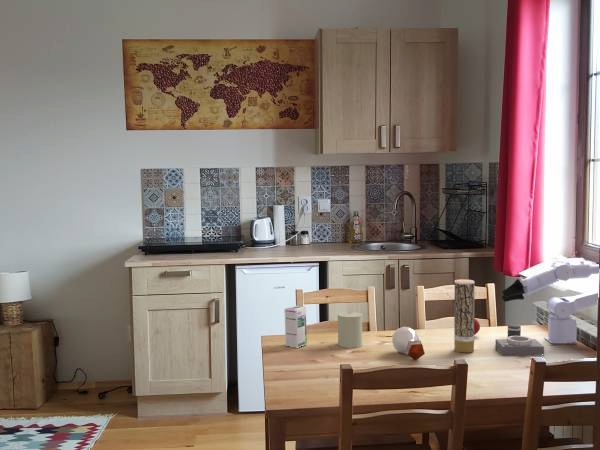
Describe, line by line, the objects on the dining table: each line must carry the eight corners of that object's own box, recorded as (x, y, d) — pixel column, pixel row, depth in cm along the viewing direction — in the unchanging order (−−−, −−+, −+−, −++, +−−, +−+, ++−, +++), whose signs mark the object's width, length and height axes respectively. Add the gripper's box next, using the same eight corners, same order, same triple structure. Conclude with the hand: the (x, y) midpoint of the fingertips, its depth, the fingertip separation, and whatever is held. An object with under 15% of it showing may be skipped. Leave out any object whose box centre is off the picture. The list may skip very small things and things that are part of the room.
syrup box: (297, 348, 252) (297, 309, 251) (285, 346, 256) (284, 307, 254) (307, 345, 257) (306, 306, 255) (294, 342, 260) (293, 304, 259)
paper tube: (474, 353, 242) (474, 283, 240) (454, 353, 243) (454, 282, 241) (473, 348, 249) (474, 279, 246) (454, 347, 250) (454, 279, 248)
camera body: (534, 346, 249) (534, 334, 249) (543, 355, 239) (543, 342, 239) (495, 347, 250) (495, 334, 249) (502, 355, 240) (502, 342, 239)
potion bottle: (403, 352, 250) (419, 369, 236) (382, 339, 247) (397, 355, 233) (418, 331, 250) (435, 347, 236) (398, 318, 247) (413, 333, 233)
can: (362, 341, 261) (362, 310, 259) (362, 348, 252) (362, 315, 250) (338, 341, 262) (337, 310, 260) (337, 348, 252) (336, 315, 251)
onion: (481, 338, 263) (481, 317, 262) (466, 338, 263) (466, 317, 262) (477, 334, 269) (478, 313, 268) (462, 334, 269) (463, 313, 268)
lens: (518, 339, 260) (518, 324, 260) (522, 342, 256) (522, 327, 255) (506, 339, 261) (506, 324, 260) (509, 342, 256) (509, 327, 255)
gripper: (531, 277, 263) (497, 292, 264) (533, 266, 250) (498, 282, 251) (540, 293, 260) (506, 308, 262) (543, 284, 247) (507, 299, 248)
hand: (503, 296), depth 256 cm, fingers open, 7 cm apart
